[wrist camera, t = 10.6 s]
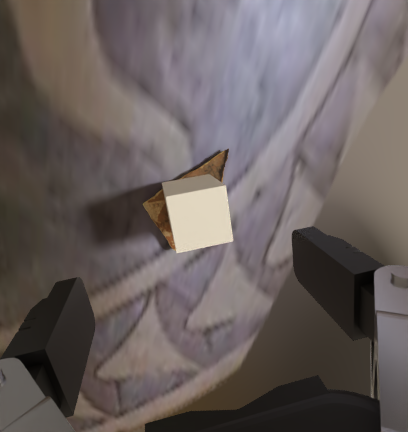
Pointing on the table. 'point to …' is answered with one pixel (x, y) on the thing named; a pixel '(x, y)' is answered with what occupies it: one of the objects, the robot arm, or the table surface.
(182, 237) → the cream block
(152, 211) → the shard
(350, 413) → the robot arm
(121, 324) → the table surface
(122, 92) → the table surface
